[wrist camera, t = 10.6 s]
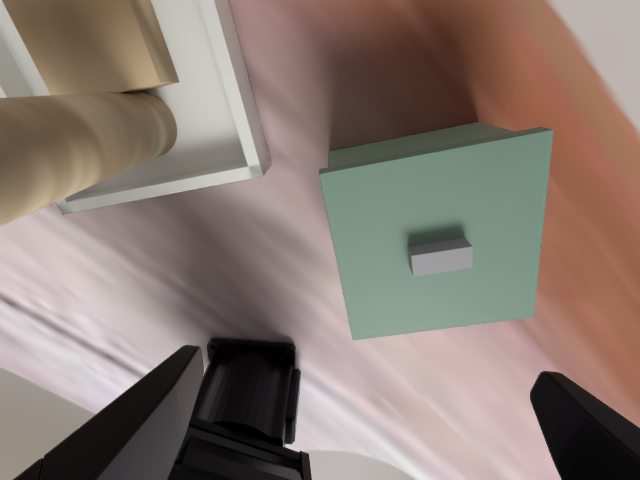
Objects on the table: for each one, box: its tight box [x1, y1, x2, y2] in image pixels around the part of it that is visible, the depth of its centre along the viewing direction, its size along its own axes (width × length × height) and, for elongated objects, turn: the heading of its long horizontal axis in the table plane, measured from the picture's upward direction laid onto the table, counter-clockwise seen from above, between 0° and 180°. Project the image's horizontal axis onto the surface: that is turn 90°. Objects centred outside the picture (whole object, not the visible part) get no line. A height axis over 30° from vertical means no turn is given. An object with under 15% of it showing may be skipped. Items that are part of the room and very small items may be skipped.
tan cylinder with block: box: [0, 0, 179, 226], centre depth 10 cm, size 8×5×13 cm, turn 12°
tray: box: [0, 0, 271, 215], centre depth 15 cm, size 13×11×2 cm
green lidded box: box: [319, 122, 554, 340], centre depth 16 cm, size 9×9×7 cm
